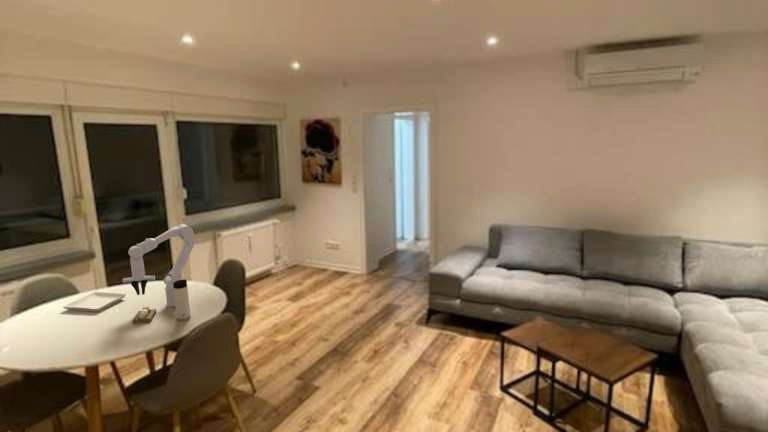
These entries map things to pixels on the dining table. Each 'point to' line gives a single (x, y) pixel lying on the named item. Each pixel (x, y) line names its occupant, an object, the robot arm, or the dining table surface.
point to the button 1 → (142, 315)
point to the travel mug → (181, 300)
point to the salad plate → (95, 301)
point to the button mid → (145, 312)
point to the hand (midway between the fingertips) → (141, 294)
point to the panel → (148, 319)
